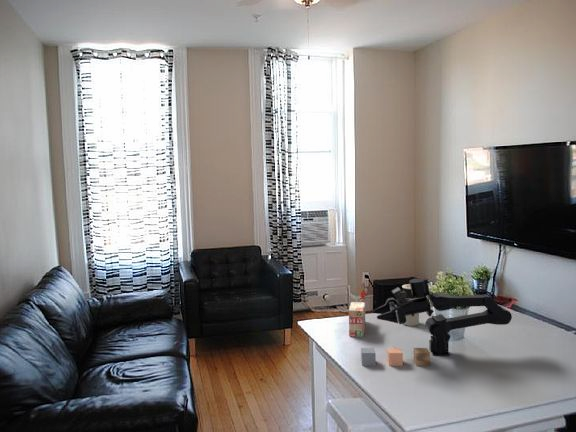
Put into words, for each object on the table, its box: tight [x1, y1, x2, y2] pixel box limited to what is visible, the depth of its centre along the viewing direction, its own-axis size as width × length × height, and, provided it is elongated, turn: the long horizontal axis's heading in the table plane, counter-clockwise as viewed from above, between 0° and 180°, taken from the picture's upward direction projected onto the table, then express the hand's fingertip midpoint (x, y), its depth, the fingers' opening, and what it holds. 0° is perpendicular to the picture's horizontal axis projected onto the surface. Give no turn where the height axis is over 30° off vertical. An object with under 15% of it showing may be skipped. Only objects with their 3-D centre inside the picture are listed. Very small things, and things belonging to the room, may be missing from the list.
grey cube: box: [360, 347, 377, 367], centre depth 181 cm, size 5×5×5 cm
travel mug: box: [401, 283, 420, 327], centre depth 223 cm, size 8×8×18 cm
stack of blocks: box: [348, 301, 366, 338], centre depth 219 cm, size 21×6×12 cm, turn 168°
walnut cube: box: [413, 347, 431, 367], centre depth 180 cm, size 5×5×5 cm
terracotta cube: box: [386, 347, 404, 367], centre depth 181 cm, size 5×5×5 cm
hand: (375, 314), depth 188 cm, fingers open, 9 cm apart
